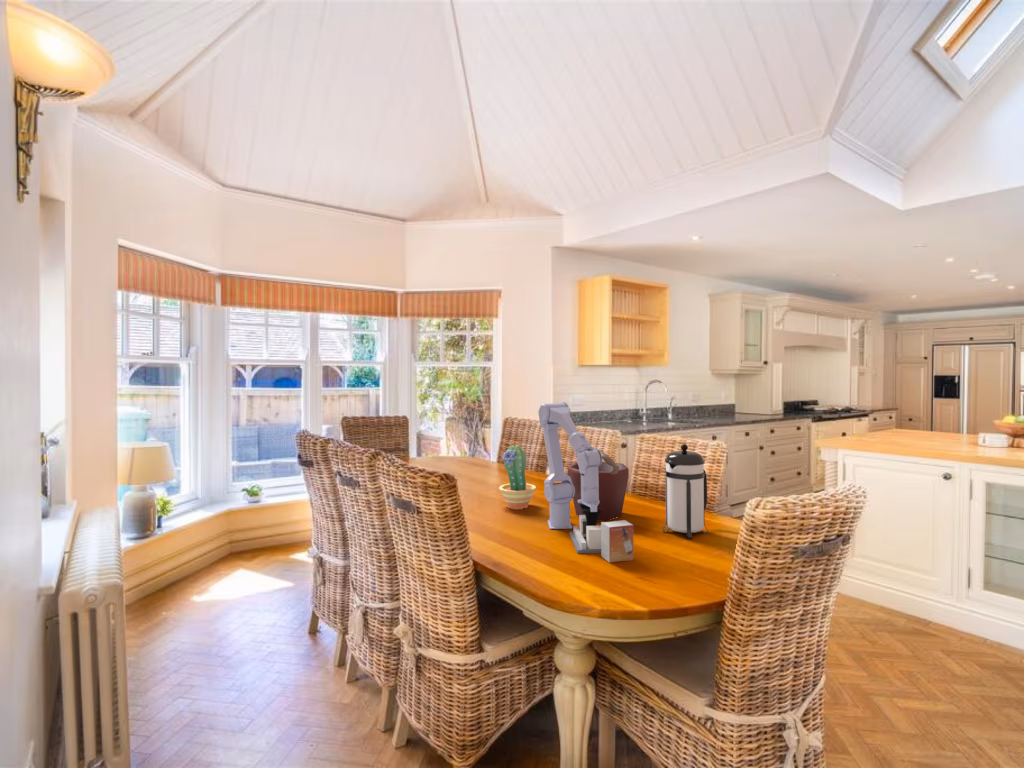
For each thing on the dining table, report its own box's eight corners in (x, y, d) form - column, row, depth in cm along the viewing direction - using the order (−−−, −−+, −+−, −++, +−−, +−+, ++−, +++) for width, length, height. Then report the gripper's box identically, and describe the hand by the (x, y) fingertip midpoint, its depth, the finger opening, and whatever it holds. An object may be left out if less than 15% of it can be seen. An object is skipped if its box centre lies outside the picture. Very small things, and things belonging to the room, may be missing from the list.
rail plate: (569, 534, 178) (569, 514, 178) (604, 533, 178) (604, 513, 178) (577, 553, 160) (577, 530, 160) (616, 552, 160) (616, 529, 160)
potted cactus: (493, 504, 219) (491, 444, 218) (526, 499, 226) (525, 441, 225) (508, 513, 205) (507, 449, 204) (543, 508, 212) (542, 446, 211)
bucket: (634, 523, 189) (633, 454, 188) (572, 525, 189) (571, 455, 188) (619, 505, 214) (618, 444, 213) (564, 507, 213) (563, 445, 212)
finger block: (579, 532, 174) (579, 515, 174) (594, 532, 174) (594, 514, 174) (581, 537, 169) (581, 518, 169) (597, 536, 169) (596, 517, 169)
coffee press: (715, 540, 169) (715, 448, 168) (664, 538, 172) (663, 447, 171) (706, 524, 186) (706, 440, 185) (660, 523, 189) (659, 440, 188)
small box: (609, 563, 152) (608, 527, 151) (600, 556, 157) (600, 521, 157) (634, 560, 154) (633, 524, 153) (625, 553, 159) (624, 519, 159)
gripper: (574, 482, 178) (574, 521, 179) (581, 492, 164) (581, 535, 164) (594, 481, 178) (595, 521, 179) (603, 491, 164) (604, 534, 164)
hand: (590, 528), depth 172 cm, fingers closed on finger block, 4 cm apart
